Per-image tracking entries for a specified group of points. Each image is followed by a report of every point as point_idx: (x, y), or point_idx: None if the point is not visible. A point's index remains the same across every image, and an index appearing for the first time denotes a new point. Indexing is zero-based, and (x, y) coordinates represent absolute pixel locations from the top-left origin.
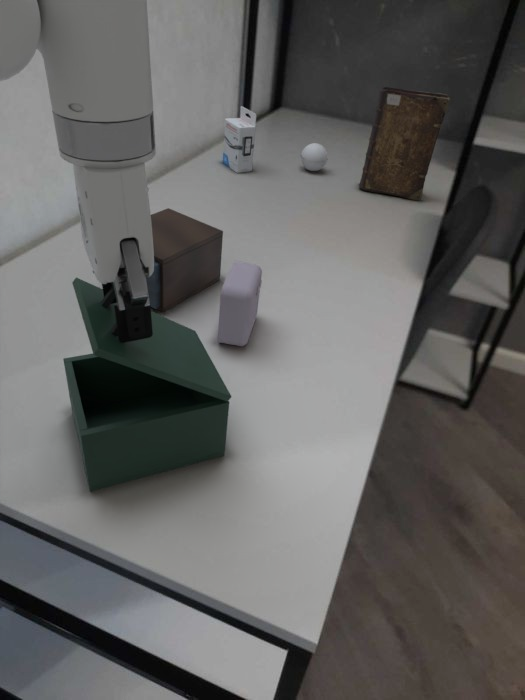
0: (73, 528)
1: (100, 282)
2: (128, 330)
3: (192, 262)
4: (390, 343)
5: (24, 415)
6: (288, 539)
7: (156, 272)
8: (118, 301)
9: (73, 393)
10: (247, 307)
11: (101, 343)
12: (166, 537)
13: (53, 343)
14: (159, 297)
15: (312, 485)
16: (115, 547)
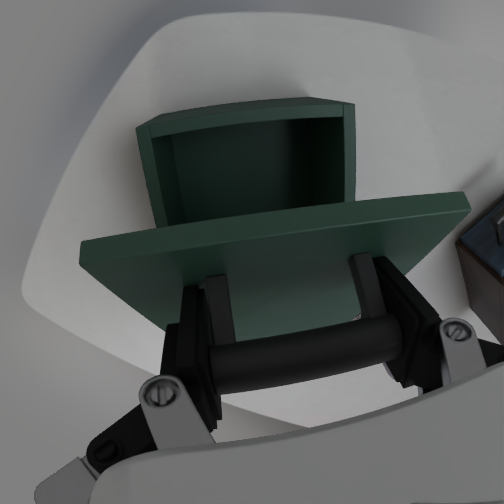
0: (111, 99)
1: (120, 463)
2: (166, 337)
3: (490, 305)
4: (312, 423)
5: (321, 37)
6: (87, 307)
7: (494, 267)
8: (144, 412)
9: (248, 113)
10: (384, 364)
11: (117, 267)
12: (88, 201)
13: (447, 98)
14: (470, 249)
15: (144, 340)
16: (81, 147)
